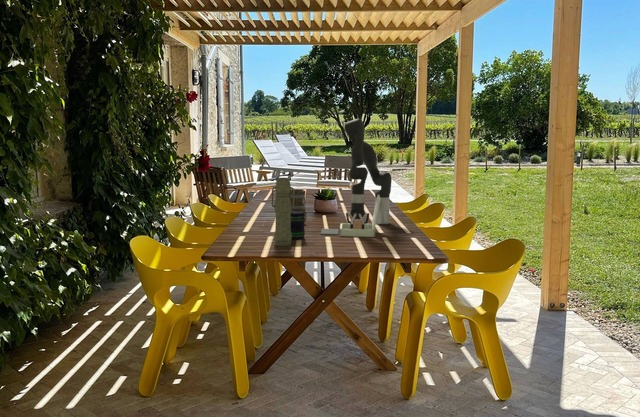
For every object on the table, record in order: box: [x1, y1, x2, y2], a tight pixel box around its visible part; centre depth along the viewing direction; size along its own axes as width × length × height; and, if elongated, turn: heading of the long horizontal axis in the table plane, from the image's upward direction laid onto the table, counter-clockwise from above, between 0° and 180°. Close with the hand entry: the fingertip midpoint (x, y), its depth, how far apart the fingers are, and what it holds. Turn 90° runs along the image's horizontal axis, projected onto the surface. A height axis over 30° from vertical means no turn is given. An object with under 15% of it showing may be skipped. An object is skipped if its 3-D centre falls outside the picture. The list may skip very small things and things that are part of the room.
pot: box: [353, 220, 362, 229], centre depth 337 cm, size 6×6×7 cm
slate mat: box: [320, 228, 340, 236], centre depth 338 cm, size 10×16×1 cm, turn 177°
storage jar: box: [291, 211, 306, 241], centre depth 318 cm, size 10×10×15 cm
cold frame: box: [339, 195, 381, 238], centre depth 336 cm, size 23×20×22 cm
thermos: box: [271, 177, 296, 247], centre depth 300 cm, size 9×12×35 cm
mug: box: [290, 189, 306, 212], centre depth 425 cm, size 20×14×15 cm
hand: (357, 230), depth 337 cm, fingers closed on pot, 5 cm apart
